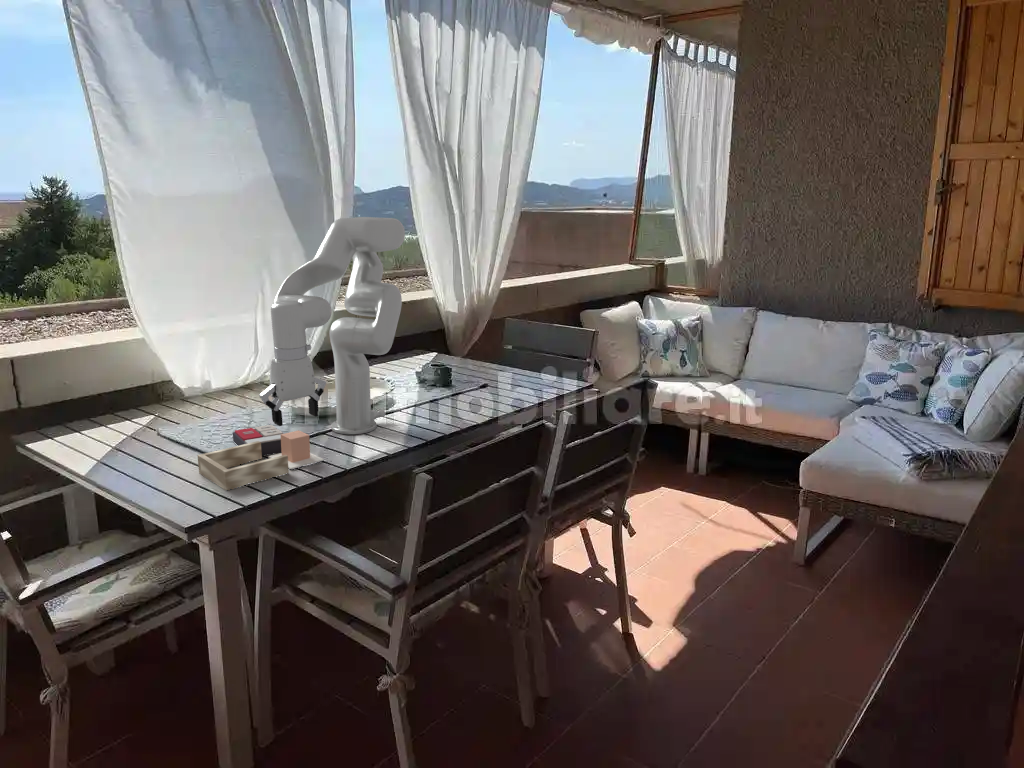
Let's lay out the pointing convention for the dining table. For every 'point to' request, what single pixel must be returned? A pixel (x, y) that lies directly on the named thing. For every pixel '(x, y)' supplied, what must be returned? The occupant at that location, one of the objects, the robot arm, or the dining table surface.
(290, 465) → the mat
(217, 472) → the u-shaped frame
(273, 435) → the calculator
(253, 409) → the dining table surface
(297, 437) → the block
